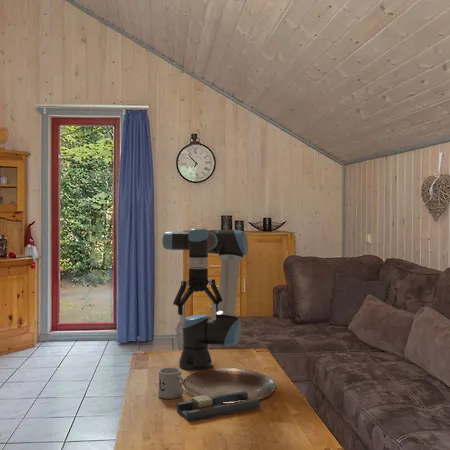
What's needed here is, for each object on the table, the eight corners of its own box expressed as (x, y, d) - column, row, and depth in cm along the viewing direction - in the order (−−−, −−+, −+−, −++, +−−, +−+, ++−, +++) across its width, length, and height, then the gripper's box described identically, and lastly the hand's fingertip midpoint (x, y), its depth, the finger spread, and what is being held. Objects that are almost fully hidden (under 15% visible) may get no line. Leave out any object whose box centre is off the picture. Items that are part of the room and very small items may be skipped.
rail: (176, 411, 205) (176, 403, 205) (245, 398, 218) (245, 391, 218) (189, 421, 195) (189, 413, 195) (259, 408, 208) (259, 399, 208)
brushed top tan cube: (191, 412, 205) (191, 396, 204) (205, 409, 207) (205, 394, 207) (198, 417, 200) (198, 401, 200) (212, 414, 202) (212, 399, 202)
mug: (153, 395, 221) (153, 370, 221) (170, 390, 228) (170, 365, 227) (174, 403, 213) (174, 377, 212) (191, 397, 219) (192, 372, 219)
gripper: (172, 270, 213) (172, 326, 214) (230, 267, 225) (230, 320, 226) (165, 268, 220) (165, 322, 221) (222, 265, 231) (221, 316, 232)
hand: (198, 321), depth 223 cm, fingers open, 13 cm apart
